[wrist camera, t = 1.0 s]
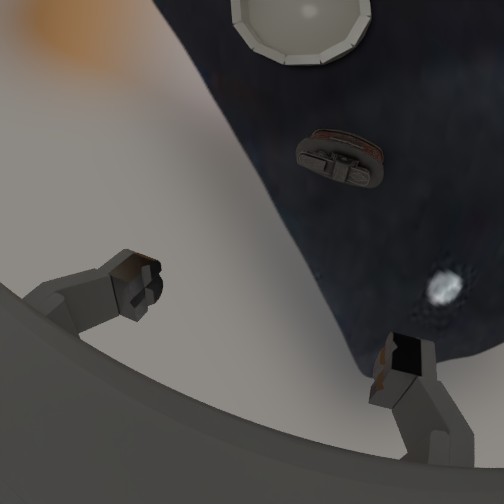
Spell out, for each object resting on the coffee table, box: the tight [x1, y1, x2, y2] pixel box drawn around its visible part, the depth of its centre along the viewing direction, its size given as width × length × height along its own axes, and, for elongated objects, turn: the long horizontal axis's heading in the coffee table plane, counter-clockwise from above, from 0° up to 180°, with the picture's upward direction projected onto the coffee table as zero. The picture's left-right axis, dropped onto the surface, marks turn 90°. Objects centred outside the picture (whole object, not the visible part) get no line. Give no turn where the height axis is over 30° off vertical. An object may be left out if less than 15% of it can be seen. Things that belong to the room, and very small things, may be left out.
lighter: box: [295, 128, 384, 188], centre depth 28 cm, size 8×3×10 cm, turn 80°
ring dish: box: [231, 0, 372, 66], centre depth 24 cm, size 14×14×3 cm
